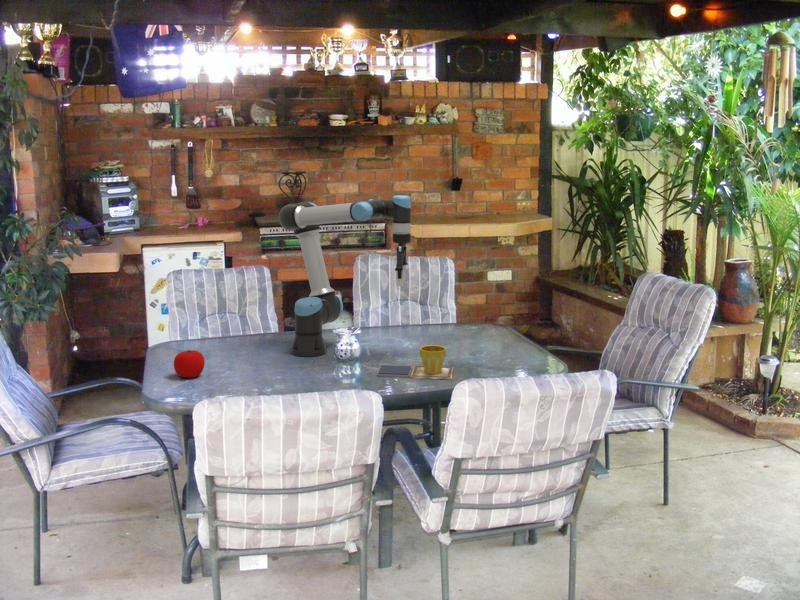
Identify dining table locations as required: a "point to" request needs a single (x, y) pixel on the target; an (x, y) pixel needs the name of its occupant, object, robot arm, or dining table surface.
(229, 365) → the dining table surface
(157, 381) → the dining table surface
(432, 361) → the plant pot
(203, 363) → the tomato
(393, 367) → the ink pad
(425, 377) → the board
